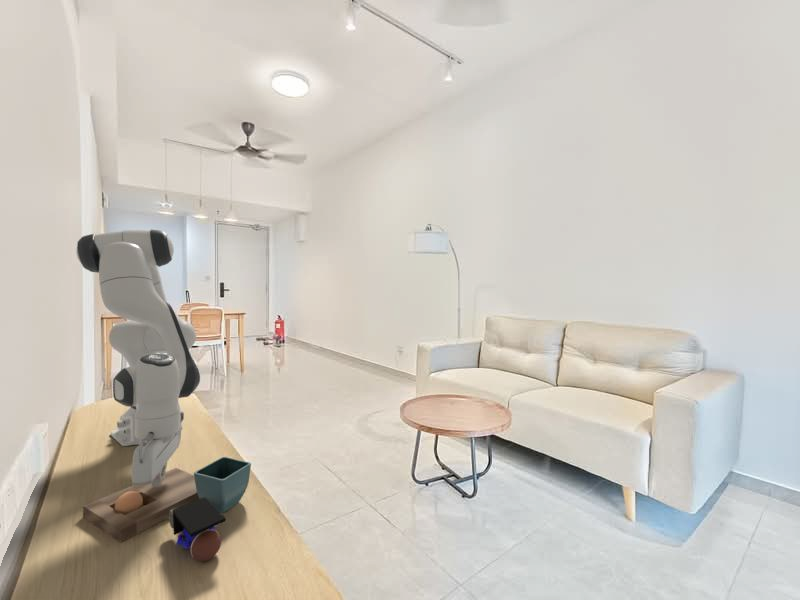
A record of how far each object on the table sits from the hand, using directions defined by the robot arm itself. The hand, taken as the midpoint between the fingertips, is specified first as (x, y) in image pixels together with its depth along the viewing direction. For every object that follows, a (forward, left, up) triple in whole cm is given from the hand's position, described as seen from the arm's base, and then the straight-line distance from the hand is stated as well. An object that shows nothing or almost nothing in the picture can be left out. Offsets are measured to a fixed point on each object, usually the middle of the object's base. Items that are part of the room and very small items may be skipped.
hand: (158, 483), depth 87 cm
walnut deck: (0, -1, -4) cm, 5 cm away
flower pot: (+14, +7, -5) cm, 16 cm away
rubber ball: (0, -6, -2) cm, 6 cm away
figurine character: (+21, -4, -5) cm, 22 cm away
